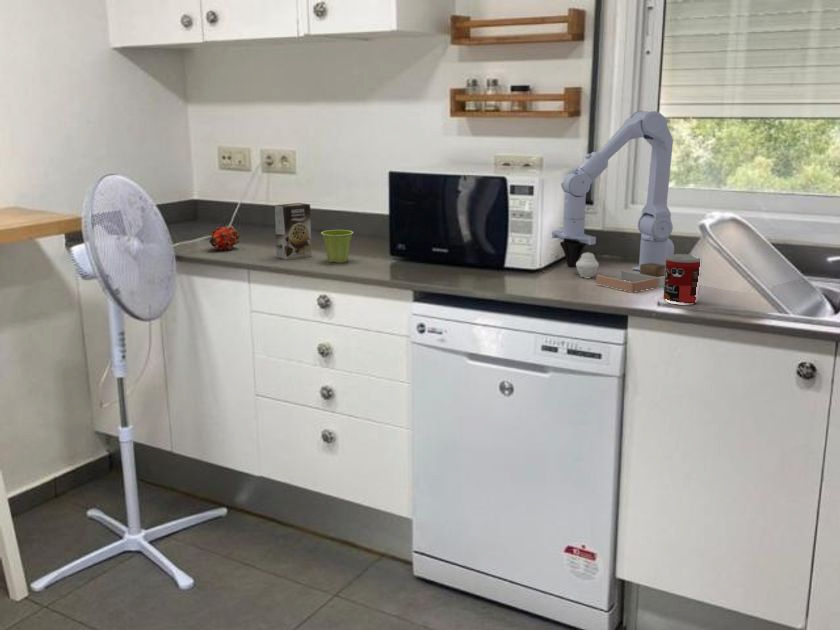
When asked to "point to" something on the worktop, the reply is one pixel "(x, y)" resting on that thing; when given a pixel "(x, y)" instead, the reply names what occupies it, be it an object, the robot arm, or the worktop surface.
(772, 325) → the worktop surface
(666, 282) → the canned food
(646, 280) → the tray
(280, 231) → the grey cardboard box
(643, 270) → the walnut block
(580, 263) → the muffin
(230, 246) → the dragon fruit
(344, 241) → the plant pot
